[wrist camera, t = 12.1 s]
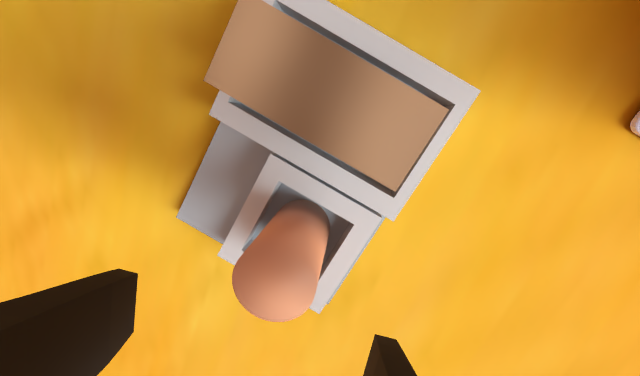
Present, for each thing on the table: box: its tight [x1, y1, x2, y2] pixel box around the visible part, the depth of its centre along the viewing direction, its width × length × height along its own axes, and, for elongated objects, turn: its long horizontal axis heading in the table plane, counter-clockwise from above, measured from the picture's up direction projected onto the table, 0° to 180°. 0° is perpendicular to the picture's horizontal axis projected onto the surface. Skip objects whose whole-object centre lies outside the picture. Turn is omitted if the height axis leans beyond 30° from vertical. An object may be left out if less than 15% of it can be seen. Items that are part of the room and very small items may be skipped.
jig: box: [176, 0, 480, 314], centre depth 17 cm, size 10×14×3 cm
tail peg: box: [232, 199, 330, 322], centre depth 15 cm, size 3×3×6 cm
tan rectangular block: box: [203, 0, 449, 192], centre depth 14 cm, size 8×3×5 cm, turn 61°
